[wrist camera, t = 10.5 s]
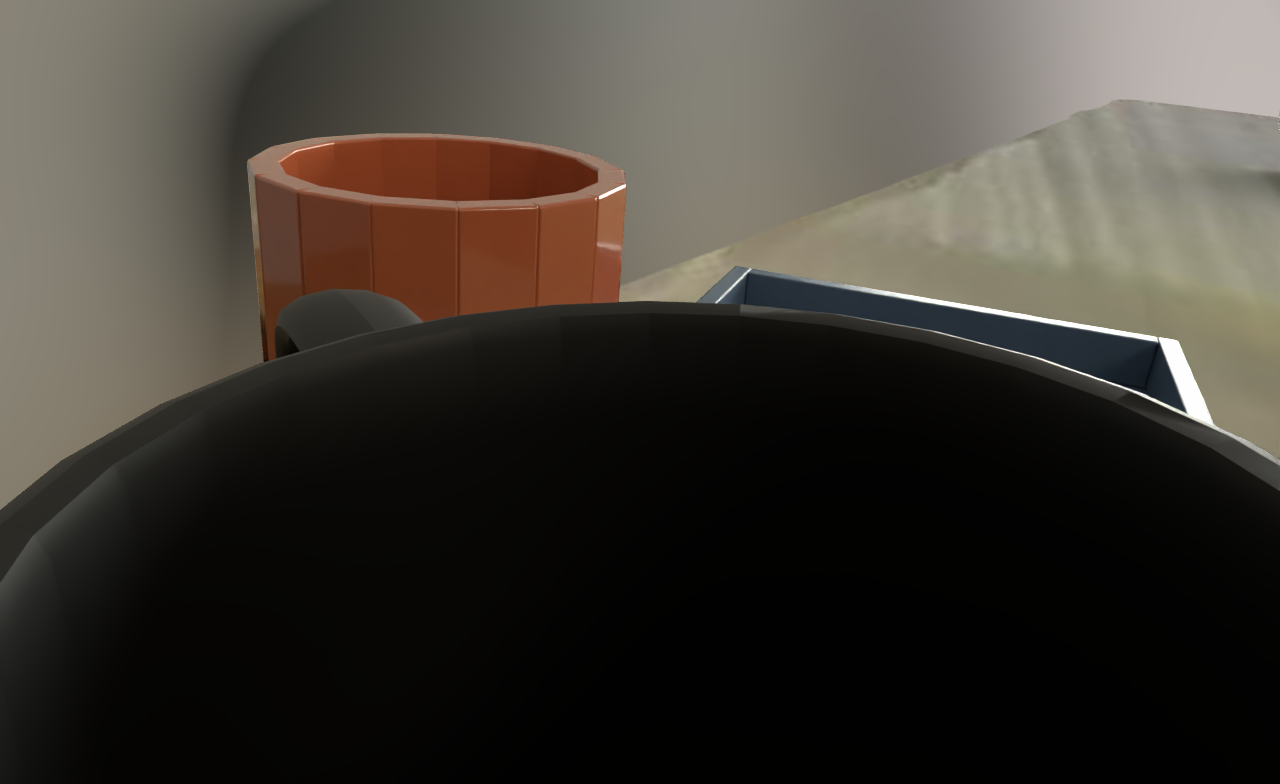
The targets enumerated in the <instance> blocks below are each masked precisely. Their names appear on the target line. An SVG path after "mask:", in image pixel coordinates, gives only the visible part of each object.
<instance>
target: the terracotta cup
mask: <svg viewBox="0 0 1280 784" xmlns="http://www.w3.org/2000/svg"><path fill="white" fill-rule="evenodd" d="M247 166H248V179H249V190H250V202H251V215H252V227H253V239H254V251H255V263H256V276H257V287H258V300H259V312H260V324H261V336H262V348H263V361H264V362H267V361H270V360H273V359H276V351H275V328H276V324H277V319H278V315H279V312H280V310H282V309H283V308H285V307H286V306H287V305H289V304H290V303H292V302H293V301H294V300H296V299H297V298H299V297H300V296H304V295H308V294H312V293H316V292H321V291H325V290H329V289H351V290H367V291H371V292H374V293H377V294H380V295H383V296H386V297H390V298H393V299H396V300H398V301H400V302H401V303H403V304H404V305H405V306H406V307H408V308H409V309H410V310H411V311H412V312H413V313H414V314H415V315H416V316H418V317H419V318H420V319H421V320H422V321H423V322H425V321H430V320H436V319H441V318H446V317H451V316H457V315H466V314H474V313H483V312H492V311H501V310H509V309H518V308H527V307H536V306H544V305H559V304H585V303H610V302H619V289H620V274H621V259H622V245H623V231H624V216H625V215H624V214H625V201H626V180H625V173H624V171H623V170H621V169H619V168H617V167H615V166H613V165H611V164H609V163H607V162H605V161H603V160H601V159H599V158H597V157H595V156H592V155H588V154H583V153H580V152H576V151H571V150H567V149H563V148H559V147H555V146H550V145H543V144H536V143H528V142H521V141H514V140H507V139H499V138H498V139H496V138H490V137H476V136H460V135H446V134H436V135H435V134H361V135H349V136H348V135H347V136H334V137H321V138H312V139H307V140H301V141H297V142H291V143H286V144H282V145H276V146H272V147H270V148H268V149H267V150H265V151H263V152H261V153H260V154H258V155H256V156H254V157H253V158H251V159H249V160H248V162H247Z"/></svg>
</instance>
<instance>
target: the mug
mask: <svg viewBox="0 0 1280 784" xmlns="http://www.w3.org/2000/svg"><path fill="white" fill-rule="evenodd" d="M275 351H276V359H273V360H270V361H267V362H263V363H260V364H257V365H255V366H253V367H250V368H248V369H245V370H243V371H240V372H238V373H235V374H233V375H230V376H228V377H226V378H223V379H221V380H218V381H216V382H213V383H211V384H209V385H206V386H204V387H201V388H199V389H197V390H194V391H192V392H189V393H187V394H184V395H182V396H180V397H177V398H175V399H172V400H170V401H167V402H165V403H162V404H160V405H159V406H157V407H155V408H153V409H151V410H150V411H148V412H146V413H144V414H142V415H141V416H139V417H137V418H135V419H134V420H132V421H130V422H128V423H127V424H125V425H123V426H122V427H120V428H118V429H116V430H114V431H113V432H111V433H109V434H107V435H106V436H104V437H102V438H100V439H99V440H97V441H95V442H93V443H92V444H90V445H88V446H86V447H85V448H83V449H81V450H79V451H78V452H76V453H74V454H72V455H70V456H69V457H67V458H65V459H63V460H62V461H60V462H59V463H58V464H57V465H55V466H54V467H53V468H52V469H50V470H49V471H48V472H47V473H46V474H44V475H43V476H42V477H41V478H40V479H38V480H37V481H36V482H34V483H33V484H32V485H31V486H29V487H28V488H27V489H26V490H25V491H23V492H22V493H21V494H20V495H18V496H17V497H16V498H15V499H13V500H12V501H11V502H10V503H8V504H7V505H6V506H5V507H4V508H2V509H1V510H0V784H1280V459H1278V458H1276V457H1275V456H1273V455H1271V454H1270V453H1268V452H1266V451H1264V450H1263V449H1261V448H1259V447H1258V446H1256V445H1254V444H1253V443H1251V442H1249V441H1247V440H1245V439H1242V438H1240V437H1238V436H1236V435H1234V434H1231V433H1229V432H1227V431H1225V430H1222V429H1220V428H1218V427H1216V426H1214V425H1211V424H1209V423H1207V422H1205V421H1202V420H1200V419H1198V418H1196V417H1194V416H1191V415H1189V414H1187V413H1185V412H1183V411H1180V410H1178V409H1176V408H1174V407H1171V406H1169V405H1167V404H1165V403H1163V402H1160V401H1158V400H1156V399H1154V398H1151V397H1149V396H1147V395H1145V394H1143V393H1140V392H1137V391H1134V390H1131V389H1128V388H1125V387H1123V386H1120V385H1117V384H1114V383H1111V382H1108V381H1105V380H1102V379H1099V378H1096V377H1093V376H1091V375H1088V374H1085V373H1082V372H1079V371H1076V370H1073V369H1070V368H1067V367H1064V366H1061V365H1058V364H1056V363H1053V362H1050V361H1047V360H1044V359H1041V358H1038V357H1035V356H1031V355H1027V354H1023V353H1019V352H1015V351H1011V350H1007V349H1003V348H999V347H995V346H991V345H987V344H983V343H979V342H976V341H972V340H968V339H964V338H960V337H956V336H952V335H948V334H944V333H940V332H936V331H931V330H925V329H919V328H914V327H908V326H902V325H897V324H891V323H885V322H879V321H874V320H868V319H862V318H857V317H851V316H845V315H840V314H832V313H822V312H812V311H803V310H793V309H783V308H773V307H764V306H754V305H744V304H722V303H691V302H659V301H635V302H610V303H585V304H559V305H544V306H536V307H527V308H518V309H509V310H501V311H492V312H483V313H474V314H466V315H457V316H451V317H446V318H441V319H436V320H430V321H425V322H423V321H422V320H421V319H420V318H419V317H418V316H416V315H415V314H414V313H413V312H412V311H411V310H410V309H409V308H408V307H406V306H405V305H404V304H403V303H401V302H400V301H398V300H396V299H393V298H390V297H386V296H383V295H380V294H377V293H374V292H371V291H367V290H351V289H329V290H325V291H321V292H316V293H312V294H308V295H304V296H300V297H299V298H297V299H296V300H294V301H293V302H292V303H290V304H289V305H287V306H286V307H285V308H283V309H282V310H280V312H279V315H278V319H277V324H276V328H275Z"/></svg>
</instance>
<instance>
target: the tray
mask: <svg viewBox="0 0 1280 784" xmlns="http://www.w3.org/2000/svg"><path fill="white" fill-rule="evenodd" d="M696 303H722V304H744V305H754V306H764V307H773V308H783V309H793V310H803V311H812V312H822V313H832V314H840V315H845V316H851V317H857V318H862V319H868V320H874V321H879V322H885V323H891V324H897V325H902V326H908V327H914V328H919V329H925V330H931V331H936V332H940V333H944V334H948V335H952V336H956V337H960V338H964V339H968V340H972V341H976V342H979V343H983V344H987V345H991V346H995V347H999V348H1003V349H1007V350H1011V351H1015V352H1019V353H1023V354H1027V355H1031V356H1035V357H1038V358H1041V359H1044V360H1047V361H1050V362H1053V363H1056V364H1058V365H1061V366H1064V367H1067V368H1070V369H1073V370H1076V371H1079V372H1082V373H1085V374H1088V375H1091V376H1093V377H1096V378H1099V379H1102V380H1105V381H1108V382H1111V383H1114V384H1117V385H1120V386H1123V387H1125V388H1128V389H1131V390H1134V391H1137V392H1140V393H1143V394H1145V395H1147V396H1149V397H1151V398H1154V399H1156V400H1158V401H1160V402H1163V403H1165V404H1167V405H1169V406H1171V407H1174V408H1176V409H1178V410H1180V411H1183V412H1185V413H1187V414H1189V415H1191V416H1194V417H1196V418H1198V419H1200V420H1202V421H1205V422H1207V423H1209V424H1211V425H1214V422H1213V420H1212V418H1211V415H1210V413H1209V411H1208V409H1207V406H1206V404H1205V402H1204V399H1203V397H1202V395H1201V393H1200V390H1199V388H1198V386H1197V383H1196V381H1195V379H1194V376H1193V374H1192V372H1191V370H1190V367H1189V365H1188V363H1187V360H1186V358H1185V356H1184V354H1183V351H1182V349H1181V347H1180V344H1179V342H1178V341H1177V340H1171V339H1165V338H1156V337H1153V336H1148V335H1142V334H1136V333H1130V332H1124V331H1118V330H1112V329H1106V328H1100V327H1094V326H1088V325H1082V324H1077V323H1071V322H1065V321H1059V320H1053V319H1047V318H1041V317H1035V316H1029V315H1023V314H1017V313H1011V312H1005V311H1000V310H994V309H988V308H982V307H976V306H970V305H964V304H958V303H952V302H946V301H940V300H934V299H929V298H923V297H917V296H911V295H905V294H899V293H893V292H887V291H881V290H875V289H869V288H863V287H857V286H852V285H846V284H840V283H834V282H828V281H822V280H816V279H810V278H804V277H798V276H792V275H786V274H781V273H775V272H769V271H763V270H757V269H752V270H751V269H750V268H745V267H739V266H735V267H734V268H733V269H732V270H731V271H730V272H729V273H727V274H726V275H725V276H724V277H723V278H722V279H721V280H720V281H719V282H718V283H717V284H715V285H714V286H713V287H712V288H711V289H710V290H709V291H708V292H707V293H706V294H705V295H704V296H702V297H701V298H700V299H699V300H698V301H697V302H696ZM1214 426H1215V425H1214Z"/></svg>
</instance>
